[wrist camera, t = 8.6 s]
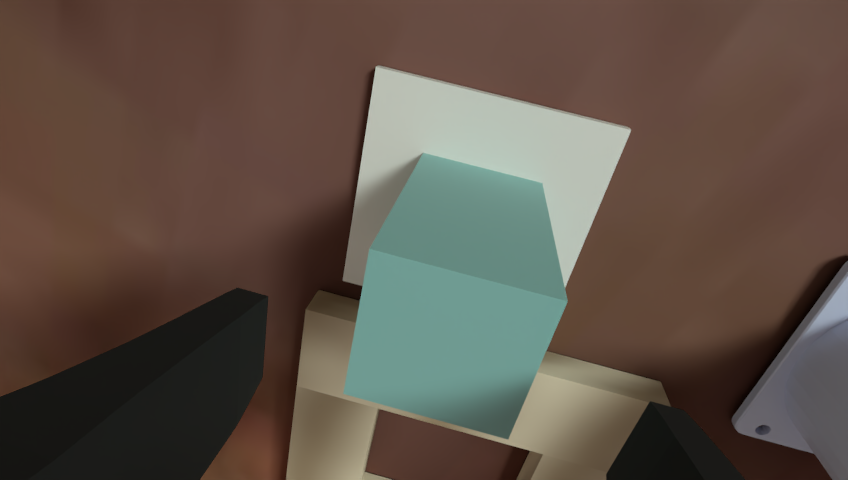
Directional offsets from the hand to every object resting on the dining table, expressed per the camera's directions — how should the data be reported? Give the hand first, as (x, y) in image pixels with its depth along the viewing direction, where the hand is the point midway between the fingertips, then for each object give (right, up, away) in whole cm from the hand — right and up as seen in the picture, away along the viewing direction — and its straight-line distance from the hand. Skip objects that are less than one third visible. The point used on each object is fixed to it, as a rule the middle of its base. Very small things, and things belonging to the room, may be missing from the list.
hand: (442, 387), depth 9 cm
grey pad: (+1, +4, +8) cm, 9 cm away
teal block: (+1, +3, +7) cm, 8 cm away
